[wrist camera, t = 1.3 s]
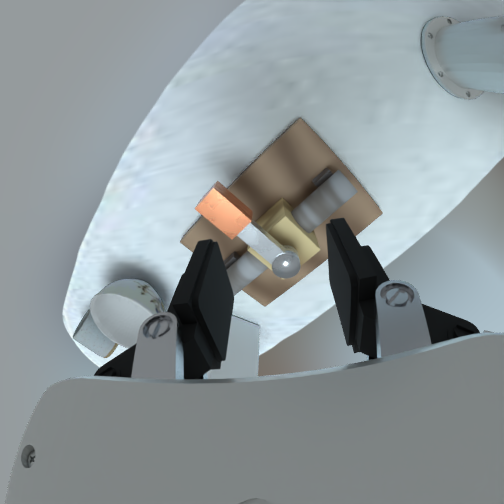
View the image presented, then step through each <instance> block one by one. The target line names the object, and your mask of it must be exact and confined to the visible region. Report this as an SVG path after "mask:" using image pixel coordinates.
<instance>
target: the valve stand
mask: <svg viewBox="0 0 504 504" xmlns="http://www.w3.org/2000/svg"><path fill="white" fill-rule="evenodd" d="M227 189H228V190H229V191H230V192H231V193H232V194H234V195H235V196H236V197H237V198H238V199H239V200H240V201H242V202H243V203H244V204H245V205H246V206H247V207H248V208H250V209H251V210H252V211H253V215H252V219H253V220H254V221H255V222H256V223H257V224H258V225H260V226H261V227H262V228H263V229H264V230H265V231H266V232H268V233H269V234H270V235H271V236H272V237H273V238H274V239H275V240H277V241H278V242H279V243H280V244H281V245H282V246H283V245H289V246H292V247H294V248H295V249H296V250H297V252H298V254H299V260H300V265H301V267H300V271H299V272H298V273H297V274H296V275H295V276H294V277H291V278H286V279H285V278H280V277H278V276H276V275H275V274H274V273H273V271H272V264H270V263H269V262H268V261H267V260H266V259H264V258H263V257H262V256H261V255H260V254H258V253H257V252H256V251H255V250H254V249H252V248H251V247H250V246H249V245H248V244H246V243H245V242H244V241H243V240H242V239H240V238H239V237H238V236H236V237H235V238H234V239H231V238H229V237H228V236H227V235H226V234H225V233H223V232H222V231H221V230H220V229H218V228H217V227H216V226H215V225H214V224H212V223H211V222H210V221H209V220H208V219H206V218H205V217H204V216H203V215H202V216H201V217H200V218H199V219H198V220H197V222H196V223H195V224H194V225H193V226H192V227H191V228H190V229H189V230H188V232H187V233H186V234H185V235H184V236H183V237H182V239H181V241H180V243H182V244H183V245H184V246H185V247H187V248H188V249H189V250H191V251H192V252H194V249H195V247H196V245H197V242H198V241H201V240H207V239H212V240H213V242H216V241H217V242H218V245H219V248H220V251H221V254H222V258H223V261H224V264H225V267H226V271H227V274H228V277H229V280H230V283H231V287H232V290H233V294H234V295H236V294H237V293H238V292H239V291H241V290H243V291H244V292H246V293H247V294H248V295H250V296H251V297H252V298H254V299H255V300H256V301H258V302H259V303H260V304H262V305H263V306H267V305H268V304H269V303H271V302H272V301H273V300H275V299H276V298H277V297H279V296H280V295H281V294H283V293H284V292H285V291H287V290H288V289H289V288H291V287H292V286H293V285H295V284H296V283H297V282H299V281H300V280H301V279H303V278H304V277H305V276H306V275H308V274H309V273H310V272H312V271H313V270H314V269H315V268H317V267H318V266H319V265H321V264H322V263H323V262H324V261H326V260H327V259H328V249H327V236H326V224H328V223H330V220H331V219H337V218H344V219H345V220H346V222H347V223H348V225H349V227H350V228H351V230H352V232H353V233H354V235H355V236H356V235H358V234H359V233H360V232H361V231H362V230H364V229H365V228H366V227H367V226H368V225H370V224H371V223H372V222H373V221H374V220H375V219H377V218H378V217H379V216H380V215H381V214H382V211H381V210H380V208H379V207H378V206H377V205H376V203H375V202H374V201H373V199H372V198H371V197H370V195H369V194H368V193H367V192H366V190H365V189H364V188H363V187H362V185H361V184H360V183H359V182H358V180H357V179H356V178H355V177H354V176H353V174H352V173H351V172H350V171H349V170H348V168H347V167H346V166H345V165H344V164H343V163H342V161H341V160H340V159H339V158H338V157H337V156H336V155H335V154H334V152H333V151H332V150H331V149H330V148H329V147H328V146H327V145H326V144H325V143H324V141H323V140H322V139H321V138H320V137H319V136H318V135H317V134H316V133H315V132H314V131H313V130H312V129H311V128H310V127H309V126H308V125H307V124H306V123H305V122H304V121H303V120H302V119H301V118H299V119H298V120H296V121H295V122H294V123H293V124H292V125H291V126H290V127H289V128H288V129H287V130H286V131H285V132H284V133H283V134H282V135H280V136H279V137H278V138H277V139H276V140H275V141H274V142H273V143H272V144H271V145H270V146H269V147H268V148H267V149H266V150H265V151H264V152H263V153H262V154H261V155H260V156H259V157H258V158H257V159H256V160H255V161H254V162H253V163H252V164H251V165H250V166H249V167H248V168H247V169H246V170H245V171H244V172H243V173H242V174H241V175H240V176H239V177H238V178H237V179H236V180H235V181H234V182H233V183H232V184H231V185H230V186H229V187H228V188H227Z"/></svg>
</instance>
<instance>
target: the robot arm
mask: <svg viewBox="0 0 504 504" xmlns="http://www.w3.org/2000/svg"><path fill="white" fill-rule="evenodd" d="M422 49H423V54H424V57H425V60H426V63H427V65H428V67H429V69H430V71H431V73H432V74H433V76H434V77H435V79H436V80H437V81H438V83H439V84H440V85H441V86H442V87H443V88H444V89H445V90H446V91H447V92H449V93H450V94H452V95H453V96H456V97H458V98H462V99H468V100H471V99H476V98H477V97H479V96H480V95H481V94H482V93H483V92H484V91H489V92H495V93H501V94H504V16H498V17H490V18H483V19H477V20H472V21H467V22H462V23H461V22H459V21H457V20H455V19H453V18H450V17H444V16H442V17H436V18H433V19H431V20H430V21H428V22H427V24H426V25H425V26H424V29H423V32H422ZM326 236H327V249H328V265H329V280H330V286H331V289H332V293H333V296H334V299H335V303H336V306H337V310H338V314H339V317H340V321H341V324H342V328H343V332H344V336H345V339H346V343H347V345H348V346H349V345H352V347H353V351H354V353H357V352H362V353H364V354H366V355H367V361H364V362H359V363H354V364H348V365H343V366H337V367H331V368H326V369H319V370H312V371H305V372H297V373H289V374H281V375H270V376H259V377H245V378H227V379H208V376H207V372H208V371H209V370H214V369H220V368H221V361H225V360H226V354H227V346H228V339H229V332H230V325H231V317H232V310H233V303H234V294H233V290H232V287H231V283H230V280H229V277H228V274H227V271H226V267H225V264H224V261H223V258H222V254H221V251H220V248H219V245H218V242H217V241H216V242H213V240H212V239H207V240H201V241H198V242H197V245H196V247H195V249H194V252H193V254H192V256H191V259H190V261H189V264H188V266H187V268H186V271H185V273H184V274H183V275H182V276H181V279H180V281H179V283H178V286H177V288H176V291H175V293H174V296H173V298H172V301H171V303H170V306H169V308H168V311H167V312H160V313H157V314H154V315H152V316H150V317H149V318H147V319H146V320H145V321H144V322H143V323H142V325H141V326H140V329H139V333H138V338H137V343H136V344H135V345H133V346H132V347H130V348H129V349H127V350H126V351H124V352H123V353H121V354H120V355H118V356H117V357H115V358H114V359H112V360H110V361H109V362H107V363H106V364H104V365H103V366H102V367H100V368H99V369H98V370H97V372H96V373H95V375H94V376H82V377H74V378H69V379H66V380H62V381H59V382H57V383H55V384H53V385H51V386H50V387H49V388H47V390H46V391H45V392H44V393H43V395H42V397H41V398H40V400H39V402H38V403H37V405H36V407H35V409H34V411H33V413H32V415H31V417H30V420H29V422H28V424H27V427H26V429H25V432H24V434H23V437H22V440H21V442H20V445H19V448H18V452H17V455H16V458H15V462H14V465H13V468H12V472H11V476H10V480H9V485H8V489H7V494H6V500H5V504H504V333H494V332H490V331H483V333H480V332H479V330H478V329H477V327H476V326H475V325H474V324H472V323H470V322H468V321H466V320H464V319H461V318H459V317H456V316H453V315H451V314H448V313H445V312H442V311H440V310H437V309H434V308H431V307H429V306H426V305H424V304H422V303H421V300H420V296H419V293H418V291H417V290H416V288H415V287H414V286H413V285H411V284H410V283H408V282H405V281H401V280H391V281H390V280H389V278H388V277H387V275H386V273H385V271H384V270H383V268H382V266H381V264H380V263H379V261H378V259H377V258H376V256H375V254H374V253H373V251H372V249H371V248H370V247H369V246H368V245H367V246H361V245H360V244H359V242H358V240H357V239H356V237H355V235H354V233H353V232H352V230H351V228H350V227H349V225H348V223H347V222H346V220H345V219H344V218H337V219H331V220H330V223H328V224H326Z"/></svg>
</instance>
